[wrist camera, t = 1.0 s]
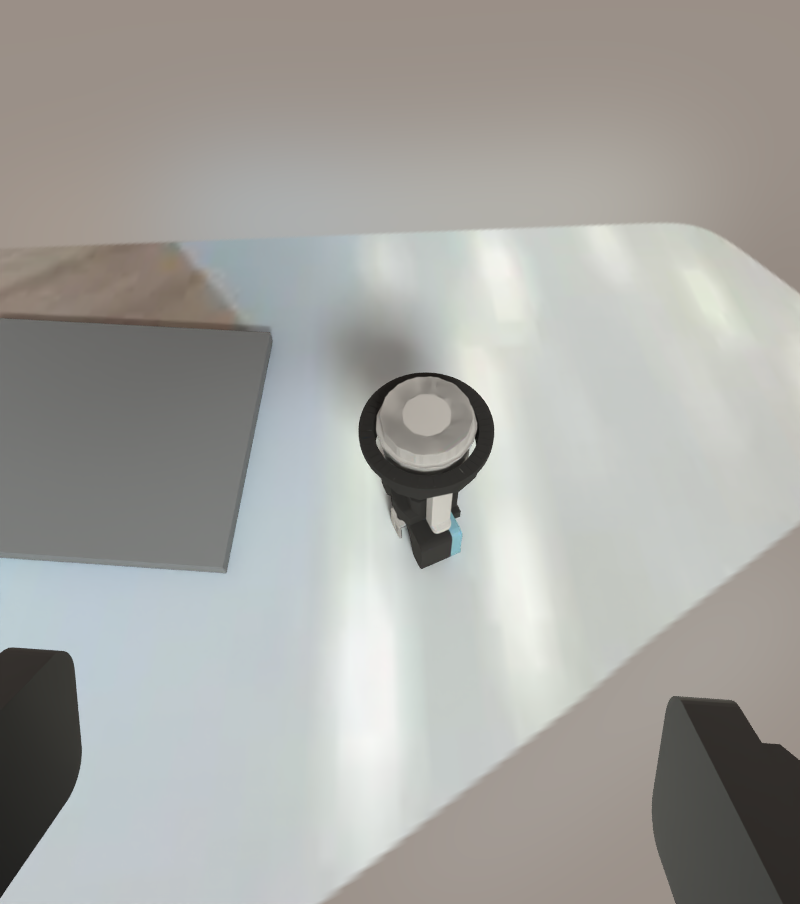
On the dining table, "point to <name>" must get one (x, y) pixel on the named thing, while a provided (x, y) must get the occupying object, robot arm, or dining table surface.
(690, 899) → the robot arm
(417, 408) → the push button
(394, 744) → the dining table surface
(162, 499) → the rubber mat
